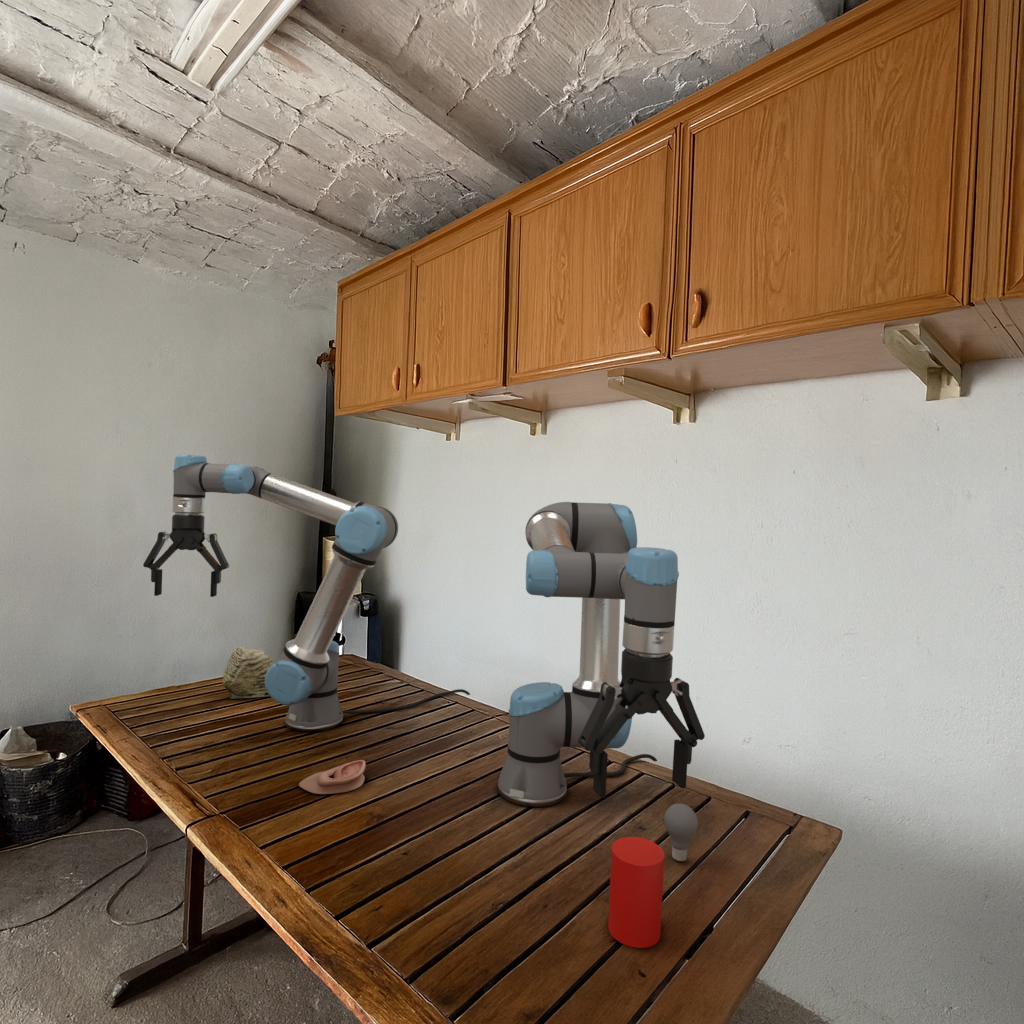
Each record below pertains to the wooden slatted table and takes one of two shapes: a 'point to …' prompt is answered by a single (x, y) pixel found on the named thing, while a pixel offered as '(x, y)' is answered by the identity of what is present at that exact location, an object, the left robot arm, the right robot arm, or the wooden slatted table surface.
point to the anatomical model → (336, 779)
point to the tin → (636, 892)
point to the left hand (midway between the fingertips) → (185, 595)
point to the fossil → (247, 673)
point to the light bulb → (680, 828)
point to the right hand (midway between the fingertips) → (639, 789)
